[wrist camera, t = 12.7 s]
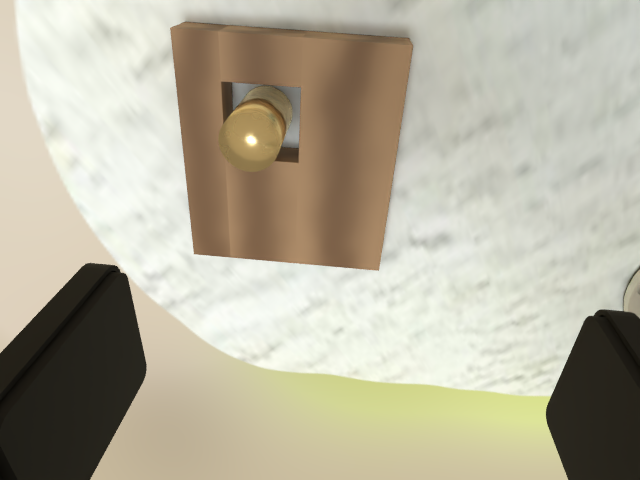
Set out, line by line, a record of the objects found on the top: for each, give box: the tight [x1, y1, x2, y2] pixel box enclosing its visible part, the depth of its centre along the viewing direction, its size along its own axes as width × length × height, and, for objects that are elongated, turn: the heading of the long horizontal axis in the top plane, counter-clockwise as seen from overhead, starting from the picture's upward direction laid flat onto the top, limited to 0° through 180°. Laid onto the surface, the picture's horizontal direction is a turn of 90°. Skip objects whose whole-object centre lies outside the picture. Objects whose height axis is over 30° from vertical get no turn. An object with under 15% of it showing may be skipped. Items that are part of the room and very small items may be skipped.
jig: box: [170, 22, 413, 270], centre depth 36 cm, size 16×18×3 cm
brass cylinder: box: [218, 86, 292, 172], centre depth 33 cm, size 4×4×7 cm
